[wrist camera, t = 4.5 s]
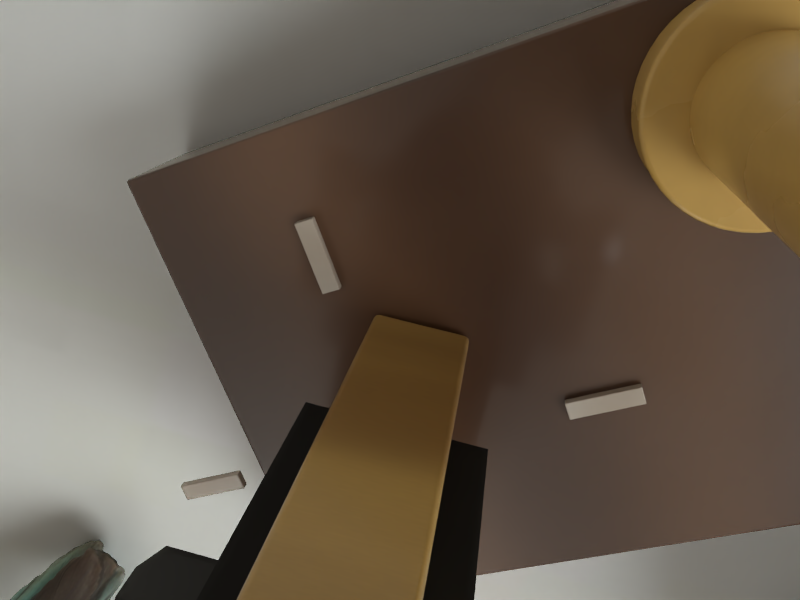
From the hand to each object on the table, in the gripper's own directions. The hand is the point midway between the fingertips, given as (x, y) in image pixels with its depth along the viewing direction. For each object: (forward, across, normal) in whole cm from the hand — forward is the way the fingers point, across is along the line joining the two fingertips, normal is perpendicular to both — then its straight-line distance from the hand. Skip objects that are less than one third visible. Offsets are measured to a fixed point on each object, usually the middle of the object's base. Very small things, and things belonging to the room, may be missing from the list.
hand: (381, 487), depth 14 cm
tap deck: (+4, +1, +2) cm, 5 cm away
